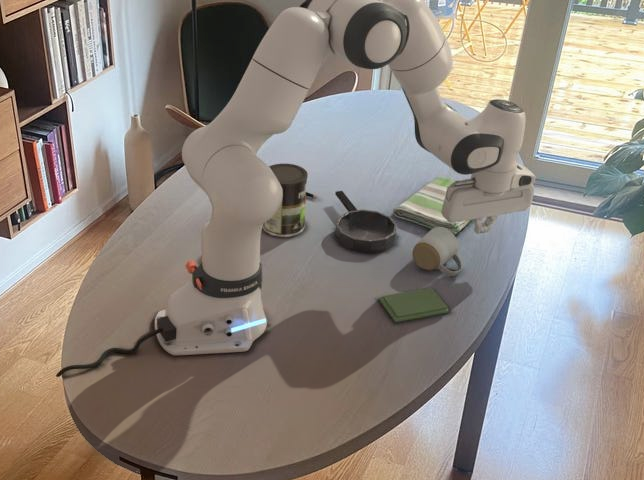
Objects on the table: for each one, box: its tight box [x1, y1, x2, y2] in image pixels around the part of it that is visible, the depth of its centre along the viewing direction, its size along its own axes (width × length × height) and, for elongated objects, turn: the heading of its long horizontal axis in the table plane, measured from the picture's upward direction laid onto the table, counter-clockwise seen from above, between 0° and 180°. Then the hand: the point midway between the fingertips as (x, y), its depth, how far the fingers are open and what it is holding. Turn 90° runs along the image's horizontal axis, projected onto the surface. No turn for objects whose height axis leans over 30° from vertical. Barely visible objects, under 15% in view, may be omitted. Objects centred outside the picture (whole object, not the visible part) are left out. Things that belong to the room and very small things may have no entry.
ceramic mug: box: [412, 227, 463, 277], centre depth 181 cm, size 11×8×8 cm
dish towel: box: [392, 176, 472, 236], centre depth 202 cm, size 17×23×4 cm
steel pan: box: [334, 190, 398, 254], centre depth 195 cm, size 14×24×3 cm, turn 17°
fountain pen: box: [306, 191, 319, 199], centre depth 209 cm, size 14×1×2 cm, turn 57°
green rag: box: [379, 287, 450, 323], centre depth 171 cm, size 12×8×1 cm, turn 107°
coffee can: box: [262, 163, 309, 238], centre depth 192 cm, size 10×10×14 cm
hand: (481, 231), depth 181 cm, fingers closed
